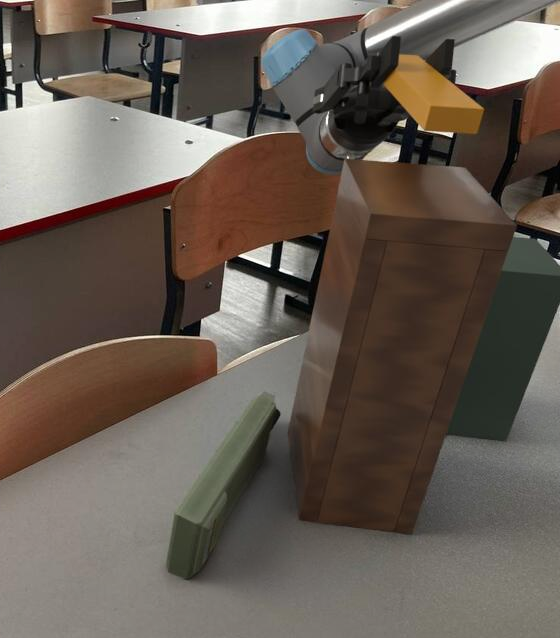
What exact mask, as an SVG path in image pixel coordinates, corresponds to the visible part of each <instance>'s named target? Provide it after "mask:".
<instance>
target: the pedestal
mask: <svg viewBox="0 0 560 638" xmlns="http://www.w3.org/2000/svg"><path fill="white" fill-rule="evenodd" d="M559 308H560V264H559V262H557V260H556V259H555V258H554V257H553V256H552V255H551V254H550V252H548V250H546V248H545V247H544V246H543V245H542V244H541V243H540V242H539V241H538V240H537V239H536V238H532V237H531V238H530V237H519V236H513V239H512V242H511V245H510V248H509V251H508V253H507V256H506V259H505V262H504V265H503V268H502V271H501V274H500V277H499V280H498V283H497V286H496V289H495V292H494V295H493V297H492V300H491V303H490V306H489V309H488V312H487V315H486V318H485V321H484V324H483V327H482V330H481V333H480V336H479V339H478V342H477V345H476V348H475V351H474V353H473V356H472V359H471V362H470V365H469V368H468V371H467V374H466V377H465V380H464V383H463V386H462V389H461V392H460V395H459V398H458V401H457V404H456V407H455V410H454V412H453V415H452V418H451V421H450V424H449V427H448V430H447V433H446V435H450V436H451V435H452V436H460V437H468V438H477V439H485V440H486V439H487V440H496V441H504V442H506V441H507V440H508V438H509V435H510V433H511V430H512V428H513V425H514V422H515V419H516V417H517V415H518V412H519V409H520V407H521V404H522V401H523V399H524V396H525V394H526V391H527V389H528V387H529V383H530V381H531V379H532V376H533V374H534V372H535V369H536V366H537V363H538V361H539V358H540V355H541V353H542V351H543V348H544V345H545V344H546V340H547V339H548V338H547V337H548V335H549V333H550V330H551V328H552V325H553V323H554V320H555V318H556V315H557V313H558V310H559Z"/></svg>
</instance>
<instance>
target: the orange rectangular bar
mask: <svg viewBox="0 0 560 638" xmlns="http://www.w3.org/2000/svg"><path fill="white" fill-rule="evenodd" d="M378 54H379V53H378ZM378 54H377V56H378ZM382 85H383V87H385V88H387V89H388V90H389V91H390V92H391V93H392V95H393V96H394V97H395V98H396V99H397V100H398V101H399V103H400V104H401V105H402V106H403V107H404V108H405V109H406V110H407V112H408V113H409V114H410V115H409V116H411V118H412V119H413V120H414V121H415V122H416V123H417V124H418V125H419V127H421V129H422V130H423V131H424V132H440V133H452V134H467V135H477V134H478V132H479V128H480V125H481V122H482V118H483V114H484V111H485V108H484V107H482V105H480V104H479V103H478V102H476V101H475V100H474V99H473V98H472V97H470V96H469V95H468V94H466V93H465V92H464V91H462V90H461V89H460V88H459V87H458V86H456V84H455V85H454V84H453V83H451V82H450V81H449V80H448V79H446V78H445V77H444V76H443V75H441V74H440V73H439V72H438V71H436V70H435V69H434V68H433V67H431V66H430V65H429V64H428V63H426V62H425V60H423V59H421V58H420V57H419V56H418V55H402V54H399V62H398V66H397V68H396V69H395V70H394V71H393V72H392V73H391V74H390V75H389V76H388V78H387V79H386V80H385V81H384V82H383V84H382Z"/></svg>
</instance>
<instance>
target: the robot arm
mask: <svg viewBox="0 0 560 638" xmlns="http://www.w3.org/2000/svg"><path fill="white" fill-rule="evenodd" d="M559 3H560V0H419V1H417V2H415V3H413V4H410V5H409V6H407V7H405V8H403V9H401V10H399V11H396V12H394V13H392V14H390V15H389V16H386V17H385V18H382V19H380V20H379V21H376V22H375V23H372V24H370V25H368V26H367V27H365V28H363V29H360V30H358V31H356V32H354V33H352V34H350V35H348V36H346V37H344V38H341V39H339V40H336V41H332V42H327V43H322V44H319V45H318V41H317V40H316V39H315V38H314V37H313V36H312V34H311V32H309V31H308V30H307V29H303V28H302V29H297V30H294V31H292V32H290V33H288V34H286V35H285V36H283V37H281V38H280V39H279V40H277V41H276V42H275V43H273V44H272V45H271V46H270V47H268V49H266V51H265V52H264V54H263V55H262V57H261V60H260V66H261V68H262V70H263V72H264V74H265V75H266V76H265V77H266V78H267V81H268V82H269V86H270V87H271V88H272V89H273V91H274V92H275V94H276V95H277V97H278V99H279V100H280V102H281V103H282V105H283V106H284V108H285V109H286V111H287V113H288V115H289V116H290V117H291V120H292V121H293V123H294V124H295V125H296V127H297V130H298V131H299V133H300V135H301V136H302V139H304V141H305V144H306V145H305V154H306V158H307V160H308V162H309V164H310V165H311V167H312V168H313V169H314V170H316V171H318V172H319V173H322V174H325V175H341V174H342V169H343V164H344V159H356V160H365V157H367V156H368V155H369V154H370V153H371V152H372V151H373V150H375V148H377V147H378V146H379V145H380V144H382V143H383V142H384V141H385V140H387V139H388V138H389V137H390V136H391V135H392V133H393V132H394V130H395V129H396V128H397V126H398V124H399V122H402V121H405V120H407V119H409V117H410V116H411V115H410V114H409V113H408V112H407V110H406V109H405V108H404V107H403V106H402V105H401V104H400V103H399V101H398V100H397V99H396V98H395V97H394V96H393V95H392V93H391V92H390V91H389V90H388V89H387V88H386V87H385V86H384V84H383V82H384V81H385V80H386V79H387V78H388V76H389V75H390V74H391V73H392V72H393V71H394V70H395V69H396V68H397V66H398V62H399V54H402V55H418V56H419V57H420V58H421V59H423V60H424V61H425V62H426V63H428V64H429V65H430V66H431V67H433V68H434V69H435V70H436V71H438V72H439V73H440V74H441V75H443V76H444V77H445V78H446V79H448V80H449V81H450V82H451V83H453V84H454V85H455V86H456V81H457V80H456V79H457V70H455V69H453V62H454V52H455V48H457V47H459V46H461V45H465V44H466V43H468V42H470V41H473V40H475V39H478V38H480V37H483V36H485V35H488V34H489V33H491V32H495V31H496V30H499V29H501V28H503V27H505V26H508V25H510V24H513V23H514V22H515V23H516V22H517V21H519V20H522V19H524V18H526V17H529V16H531V15H533V14H536V13H538V12H540V11H543V10H545V9H548V8H550V7H552V6H554V5H556V4H557V5H558V4H559ZM378 53H379V54H378ZM377 54H378V56H377Z"/></svg>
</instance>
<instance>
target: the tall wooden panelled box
mask: <svg viewBox="0 0 560 638" xmlns="http://www.w3.org/2000/svg"><path fill="white" fill-rule="evenodd" d="M517 227H518V225H517V224H516V223H515V221H514V220H513V219H512V218H511V217H510V216H509V215H508V214H507V213H506V211H505V210H504V209H503V208H502V206H500V204H498V203H497V201H496V200H495V199H494V198H493V197H492V196H491V194H490V193H488V192H487V190H486V189H485V188H484V187H483V186H482V185H481V183H479V181H478V180H477V179H476V178H475V176H473V175H472V173H471V172H470V170H468V169H467V168H466V167H462V166H449V165H436V164H423V163H422V164H421V163H411V162H410V163H409V162H408V163H407V162H395V161H383V160H382V161H381V160H369V159H363V160H356V159H344V164H343V169H342V173H340V178H339V184H338V188H337V194H336V197H335V203H334V209H333V213H332V218H331V222H330V228H329V233H328V237H327V241H326V246H325V251H324V255H323V260H322V265H321V271H320V276H319V280H318V285H317V289H316V295H315V299H314V305H313V309H312V313H311V317H310V318H311V319H310V324H309V328H308V333H307V338H306V342H305V348H304V352H303V358H302V362H301V367H300V372H299V376H298V381H297V386H296V391H295V396H294V401H293V406H292V411H291V414H290V420H289V424H288V429H287V436H288V437H287V438H288V445H289V452H290V462H291V467H292V469H291V470H292V475H293V484H294V490H295V492H294V493H295V499H296V506H297V513H298V520H299V521H307V522H313V523H321V524H329V525H337V526H338V525H339V526H344V527H352V528H359V529H366V530H367V529H368V530H374V531H382V532H391V533H398V534H406V535H407V534H408V535H413V533H414V530H415V527H416V524H417V522H418V519H419V515H420V513H421V510H422V506H423V504H424V501H425V498H426V495H427V491H428V490H429V486H430V484H431V481H432V477H433V475H434V471H435V469H436V465H437V462H438V460H439V457H440V454H441V451H442V449H443V444H444V442H445V439H446V436H447V434H446V433H447V430H448V427H449V424H450V421H451V418H452V415H453V412H454V410H455V407H456V404H457V401H458V398H459V395H460V392H461V389H462V386H463V383H464V380H465V377H466V374H467V371H468V368H469V365H470V362H471V359H472V356H473V353H474V351H475V348H476V345H477V342H478V339H479V336H480V333H481V330H482V327H483V324H484V321H485V318H486V315H487V312H488V309H489V306H490V303H491V300H492V297H493V295H494V292H495V289H496V286H497V283H498V280H499V277H500V274H501V271H502V268H503V265H504V262H505V259H506V256H507V253H508V251H509V248H510V245H511V242H512V239H513V237H515V233H516V230H517Z"/></svg>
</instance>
